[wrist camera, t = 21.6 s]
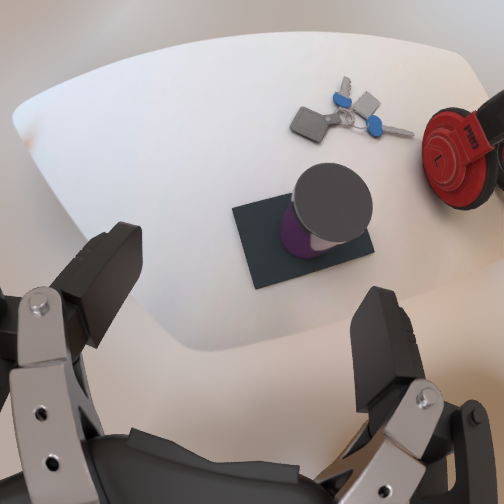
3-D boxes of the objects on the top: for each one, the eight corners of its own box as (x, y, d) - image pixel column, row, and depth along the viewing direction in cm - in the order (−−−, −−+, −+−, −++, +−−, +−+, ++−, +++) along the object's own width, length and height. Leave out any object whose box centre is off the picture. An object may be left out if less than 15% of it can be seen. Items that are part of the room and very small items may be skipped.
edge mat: (255, 289, 24) (255, 289, 24) (232, 209, 25) (232, 208, 25) (373, 252, 25) (374, 252, 25) (347, 180, 26) (349, 179, 26)
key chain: (294, 146, 26) (295, 142, 26) (274, 82, 28) (275, 77, 27) (413, 139, 27) (416, 135, 27) (386, 82, 29) (388, 78, 28)
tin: (287, 267, 24) (309, 252, 16) (269, 210, 25) (282, 171, 17) (342, 251, 25) (383, 229, 17) (323, 197, 25) (355, 156, 17)
